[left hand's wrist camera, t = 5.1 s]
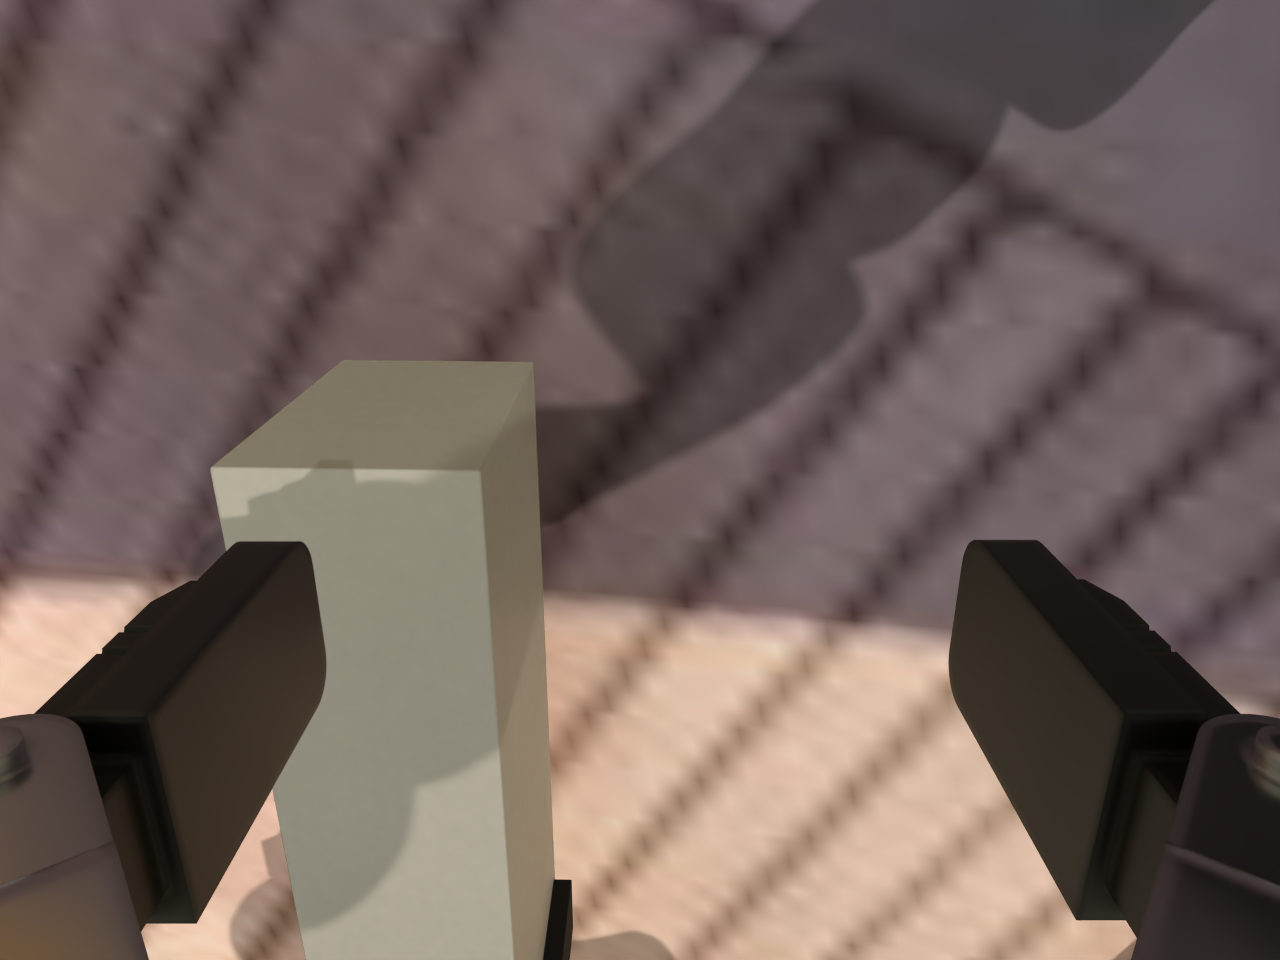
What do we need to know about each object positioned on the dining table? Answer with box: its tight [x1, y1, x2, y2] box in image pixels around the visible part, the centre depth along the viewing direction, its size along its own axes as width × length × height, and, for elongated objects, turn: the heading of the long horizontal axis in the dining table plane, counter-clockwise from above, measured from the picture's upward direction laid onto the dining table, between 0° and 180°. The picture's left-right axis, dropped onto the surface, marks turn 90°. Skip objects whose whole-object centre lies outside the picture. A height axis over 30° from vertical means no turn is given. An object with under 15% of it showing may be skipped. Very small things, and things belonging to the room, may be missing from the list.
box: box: [211, 360, 555, 960], centre depth 30 cm, size 27×6×9 cm, turn 0°
